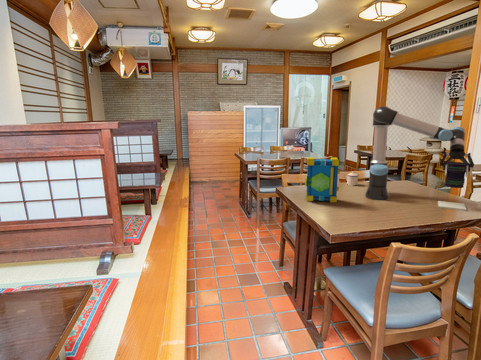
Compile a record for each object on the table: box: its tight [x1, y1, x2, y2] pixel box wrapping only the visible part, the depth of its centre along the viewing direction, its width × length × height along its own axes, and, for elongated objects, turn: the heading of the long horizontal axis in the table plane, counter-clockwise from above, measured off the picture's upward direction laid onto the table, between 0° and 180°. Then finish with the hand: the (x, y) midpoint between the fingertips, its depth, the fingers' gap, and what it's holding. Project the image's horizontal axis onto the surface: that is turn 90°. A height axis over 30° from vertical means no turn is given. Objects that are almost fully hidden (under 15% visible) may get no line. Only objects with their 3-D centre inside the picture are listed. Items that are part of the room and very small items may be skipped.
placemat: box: [437, 200, 467, 212], centre depth 180 cm, size 14×14×1 cm
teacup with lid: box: [345, 171, 359, 186], centre depth 245 cm, size 12×9×12 cm
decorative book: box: [304, 156, 341, 203], centre depth 195 cm, size 14×23×30 cm, turn 78°
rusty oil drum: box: [444, 161, 467, 189], centre depth 176 cm, size 10×10×15 cm
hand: (456, 174), depth 174 cm, fingers closed on rusty oil drum, 10 cm apart
